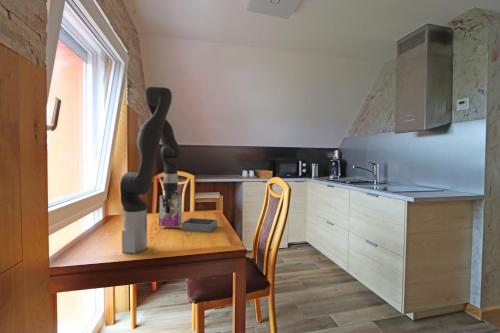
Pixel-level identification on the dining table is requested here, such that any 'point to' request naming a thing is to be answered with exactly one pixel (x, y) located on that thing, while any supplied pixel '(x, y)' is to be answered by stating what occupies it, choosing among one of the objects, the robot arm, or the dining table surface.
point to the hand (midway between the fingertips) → (170, 211)
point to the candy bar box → (175, 212)
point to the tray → (199, 225)
